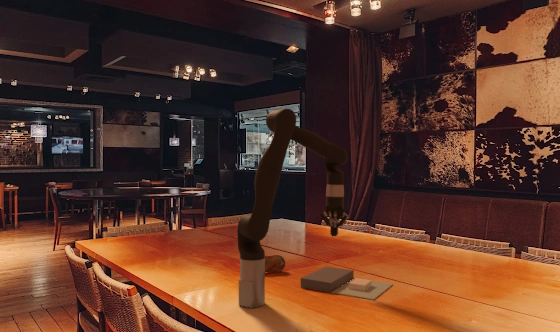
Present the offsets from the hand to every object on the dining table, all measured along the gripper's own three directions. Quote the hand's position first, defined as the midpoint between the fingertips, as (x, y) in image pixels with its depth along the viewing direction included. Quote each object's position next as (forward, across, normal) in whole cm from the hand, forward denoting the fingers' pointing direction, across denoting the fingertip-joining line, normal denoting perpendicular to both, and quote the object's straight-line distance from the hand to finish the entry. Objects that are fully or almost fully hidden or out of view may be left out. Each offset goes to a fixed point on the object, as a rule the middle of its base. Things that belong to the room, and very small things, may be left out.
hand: (334, 236), depth 182 cm
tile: (+19, +10, +4) cm, 22 cm away
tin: (+22, -36, +6) cm, 43 cm away
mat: (+21, +12, +4) cm, 25 cm away
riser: (+22, -4, +4) cm, 22 cm away
